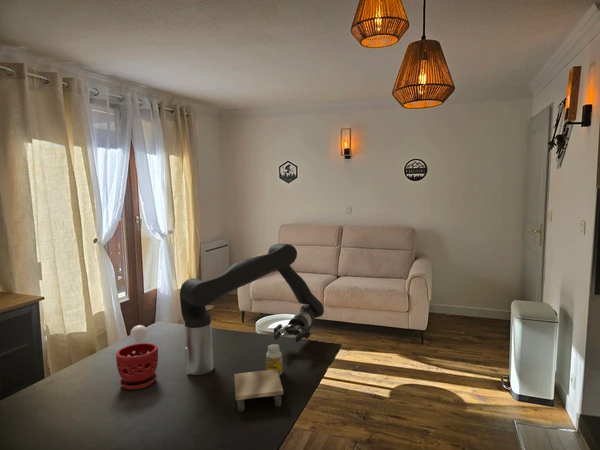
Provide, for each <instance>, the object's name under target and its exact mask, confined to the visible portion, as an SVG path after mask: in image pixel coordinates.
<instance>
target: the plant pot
mask: <svg viewBox="0 0 600 450" xmlns="http://www.w3.org/2000/svg"><path fill="white" fill-rule="evenodd" d="M141 351H142V352H141ZM115 354H116V356H115V358H116V360H115V361H116V368H117V372H118V375H119V377H120V381H119V383H120V386H121V387H123V389H126V390H131V391H132V390H136V391H137V390H140V389H143V388H146V387H147V388H148V387H149V386H151V385H152V384H153V383H154V382H155V381H156V380H157V377H158V375H157V373H156V371H157V368H158V364H159V363H158V361H159V347H158V346H157V344H154V343H150V342H148V343H147V342H146V343H145V342H144V343H140V344H129V345H127V346H125V347H122V348H120V349H118V350H117V352H116V353H115Z"/></svg>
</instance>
